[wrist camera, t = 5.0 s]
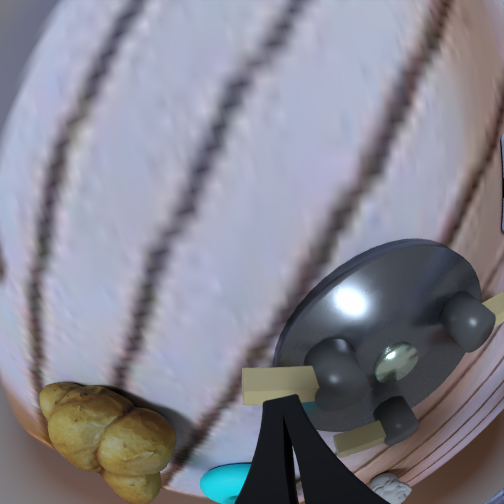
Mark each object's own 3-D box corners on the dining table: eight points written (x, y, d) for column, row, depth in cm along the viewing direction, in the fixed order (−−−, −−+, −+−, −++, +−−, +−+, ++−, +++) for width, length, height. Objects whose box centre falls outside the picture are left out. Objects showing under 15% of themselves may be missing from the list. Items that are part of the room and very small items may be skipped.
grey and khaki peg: (357, 337, 16) (376, 371, 14) (344, 373, 18) (359, 407, 15) (242, 341, 16) (245, 381, 13) (240, 379, 17) (242, 418, 14)
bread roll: (45, 393, 20) (16, 452, 13) (61, 340, 18) (15, 414, 10) (154, 451, 24) (145, 513, 16) (199, 415, 21) (195, 497, 14)
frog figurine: (399, 471, 32) (411, 500, 26) (361, 486, 33) (371, 517, 26) (403, 459, 30) (417, 492, 24) (361, 477, 30) (373, 511, 24)
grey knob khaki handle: (407, 390, 20) (422, 416, 17) (402, 410, 21) (415, 434, 18) (329, 419, 20) (339, 449, 17) (330, 436, 21) (339, 464, 18)
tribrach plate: (480, 215, 16) (499, 223, 14) (450, 377, 23) (460, 390, 21) (245, 279, 16) (247, 298, 15) (291, 437, 23) (295, 454, 21)
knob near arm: (437, 333, 17) (459, 359, 14) (443, 298, 16) (469, 323, 13) (495, 303, 17) (517, 322, 14) (502, 270, 16) (527, 287, 13)
